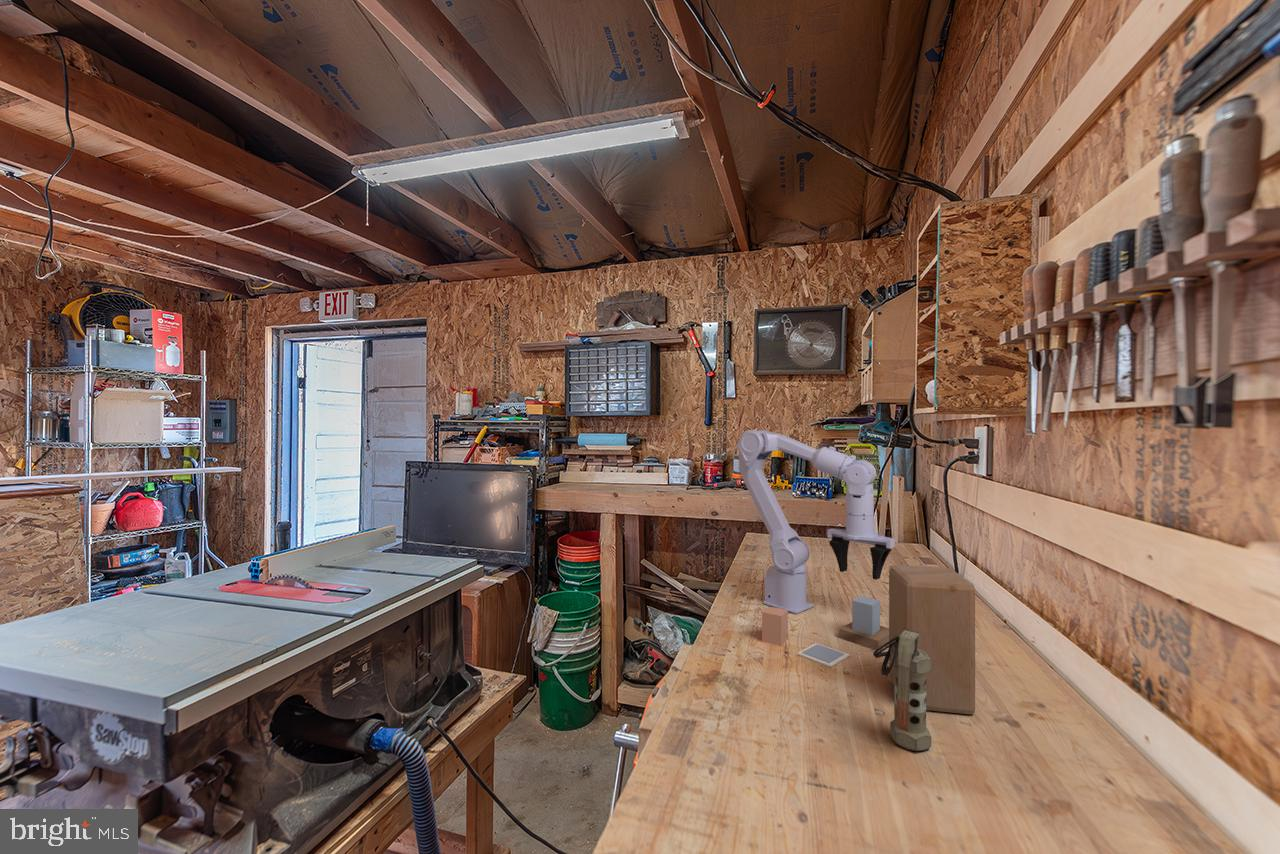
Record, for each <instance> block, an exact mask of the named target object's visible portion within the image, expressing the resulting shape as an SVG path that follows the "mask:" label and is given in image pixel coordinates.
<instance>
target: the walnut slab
mask: <svg viewBox="0 0 1280 854" xmlns="http://www.w3.org/2000/svg"><path fill="white" fill-rule="evenodd" d="M838 638H839V639H840V640H843V641H846V642H849V643H852V644H855V645H859V646H862V647H865V648H868V649H871V650H874V651H875V650H877V649H878V648H880V647H881V646H883V645H884V644H886V643H887V642H888V641H889V627H886V626H883V625H880V630H879V631H878V632H876V633H875V634H874V635H869V634H865V633H862V632H858V631H855V630H852V622H848V623H847V624H845V625H843V626H841V627H839V628H838ZM888 645H889V644H888ZM888 645H887V646H888ZM885 647H886V646H885ZM885 647H884V648H885Z"/></svg>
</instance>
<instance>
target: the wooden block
mask: <svg viewBox="0 0 1280 854" xmlns="http://www.w3.org/2000/svg"><path fill="white" fill-rule="evenodd" d="M888 621H889V622H888V625H889V626H888V628H889V641H890V640H891V639H893V638H895V637H896V636H897V637H898V636H900V635H901V633H902V632H903V631H904V630H906V631H907V630H911V631H915V632H918V633H919V634H920V635H919V637H918V644H917V648H918V649H919V650H922V651H924V652H926V653H927V654H928V655H929V657H930V659H931V670H930V671H929V672H927V673H926V711H934V712H942V713H945V712H946V713H954V714H962V715H972V714H975V711H976V586H975V585H974V583H973V582H971V581H970V580H968V579H967V578H965V577H963V576H962V575H961V574H960V573H958V572H956V571H955V570H953V569H951V568H949V567H944V566H925V565H924V566H922V565H906V564H905V565H904V564H903V565H902V564H893V565H890V567H889V570H888ZM895 641H896V640H894V641H893V642H895ZM891 643H892V642H891ZM891 643H890V644H891ZM893 647H894V645H893V646H892V648H893ZM892 648H891V649H892ZM891 663H892V662H891V659H890V658H889V661H888V666H889V668H890V665H891ZM888 676H889V679H890V682H891V683H892V685H893V686H894V666H893V667H892V669H891V671H890V673H889V674H888Z"/></svg>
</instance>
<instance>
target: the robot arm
mask: <svg viewBox="0 0 1280 854" xmlns="http://www.w3.org/2000/svg"><path fill="white" fill-rule="evenodd" d="M736 448H737V451H738V471H739V474H740V476H741V477H742V480H743V482H744V484H745V486H746V487H747V490H748V493H749V494H750V496H751V498H752V501H753V503H754V505H755V507H756V510H757V511H758V513H759V515H760V518H761V520H762V521H763V524H764V526H765V528H766V530H767V532H768V534H769V541H768V546H769V548H770V551H771V560H772V562H773V565H770V566H769V567H768V568H767V570H766V571H765V576H764V600H763V601H762V603H763V604H764V605H767V606H769V607H774V608H779V609H784V610H788V613H789V612H790V613H792V614H797V615H798V614H800V613H801V612H804V611H806V610H808V609H810V608H814V607H815V604H814V603H812V602H811V603H810V602H807V601H808V600H807V597H808V596H807V592H808V591H807V588H808V587H807V584H808V583H807V581H808V580H807V572H808V571H807V567H806V563H807V561H808V560H809V559H810V555H811V552H810V548H809V545H807V543H806V542H805V541H804V540H802V538H801V537H800V536H799V534H798V531H796V530H795V529H794V528H792V527H791V526H790V524H789V522H788V519H787V518H786V516H785V514H784V512H783V510H782V508H781V506H780V504H779V502H778V500H777V497H776V496H775V493H774V492H773V490H772V487H771V485H770V483H769V481H768V480H767V477H766V475H765V473H764V471H763V468H764V465H765V463H766V460H767V459H768V458H769V456H770V455H772V453H773V452H775V451H776V452H777V451H781V452H785V453H787V454H788V455H789V454H790V455H792V456H794V457H798V458H801V459H803V460H806V461H809V462H811V463H812V464H813V465H812V466H813V467H814V469H815V470H817V471H820V472H821V473H824V474H826V475H829V476H831V477H833V478H836V479H837V480H838V479H839V480H841V481H842V480H844V483H846V493H845V529H841V528H839V529H838V528H828V529H827V538H829V539H831V540H829V541H828V542H829V543H828V544H829V546H830V547H831V549H832V551H833V553H834V555H835V558H836V562H837V564H838V568H839V569H838V570H839V572H841V573H844V572H846V571H847V570H848V555H849V554H848V553H849V546H850V542H854V543H855V542H856V543H862V544H866V545H872V546H871V547H870V548H869V550H870V556H871V561H872V562H871V563H872V564H871V565H872V569H871V571H872V575H871V576H872V580H875V581H877V580H879V579H881V575H882V570H883V568H884V565H885V563H886V560H887V558H888V556H889V555H890V554H891V552H892V549H893V548H895V547H896V546H895V541H896V540H895V538H892V537H888V536H885V535H884V536H883V535H881V534H880V535H879V534H876V533H875V531H874V527H875V526H874V517H875V516H874V515H875V513H874V512H875V511H874V510H875V507H874V506H875V505H874V504H875V501H874V499H875V498H874V497H875V495H874V483H873V482H874V481H875V479H876V477H877V471H876V467H875V466H874V464H873V463H871V462H869V461H868V460H867V459H857V456H856V455H854V454H851V455H848V454H846V453H845V454H844V453H842V452H840V451H837V447H834V446H832V445H829V447H827V446H822V447H821V448H814V447H813V446H810V445H809V444H805V443H803V442H801V441H798V440H797V439H794V438H792V437H790V436H788V435H785V434H782V433H779V432H775V431H771V430H769V429H760V430H754V429H748V430H746V431H744V432H743V433H742V434H741V436H740V438H739V440H738V442H737V444H736Z"/></svg>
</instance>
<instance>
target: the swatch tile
mask: <svg viewBox="0 0 1280 854" xmlns="http://www.w3.org/2000/svg"><path fill="white" fill-rule="evenodd" d="M796 655H797V656H800V657H802V658H805V659H806V660H809V661H813V662H815V663H818V664H820V665H824V666H826V667H829V668H833V667H834V666H836V665H838V664H839V663H841V662H843V661H844V660H846V659H847V658H850V656H851V655H850V654H849V653H846V652H843V651H840V650H838V649H835V648H831V647H828V646H826V645H823V644H820V643H817V642H815V643H813V644H812V645H810V646H807V647H805V648H803V649H802V650H800V651H798V652H796Z"/></svg>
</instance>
